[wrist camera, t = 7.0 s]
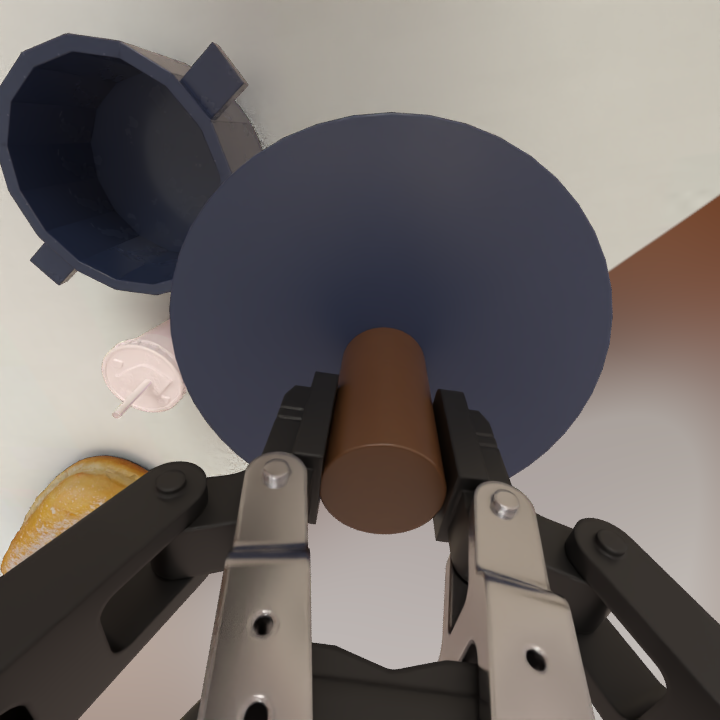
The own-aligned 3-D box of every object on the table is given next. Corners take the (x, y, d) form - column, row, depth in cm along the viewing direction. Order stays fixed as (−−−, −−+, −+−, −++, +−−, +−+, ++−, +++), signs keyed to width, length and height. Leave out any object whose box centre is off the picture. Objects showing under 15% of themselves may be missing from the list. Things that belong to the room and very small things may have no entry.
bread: (19, 530, 58) (-31, 585, 51) (87, 426, 47) (35, 477, 40) (106, 571, 61) (71, 626, 54) (188, 483, 51) (157, 538, 44)
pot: (34, 176, 33) (-66, 188, 26) (187, -28, 26) (110, -90, 19) (172, 307, 38) (121, 348, 31) (329, 166, 32) (312, 177, 24)
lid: (101, 308, 15) (-94, 429, 9) (452, -33, 10) (562, -305, 4) (350, 530, 21) (335, 698, 15) (659, 387, 16) (840, 555, 9)
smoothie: (230, 357, 41) (164, 452, 29) (169, 354, 41) (78, 448, 29) (220, 298, 38) (141, 377, 26) (153, 296, 38) (45, 373, 26)
